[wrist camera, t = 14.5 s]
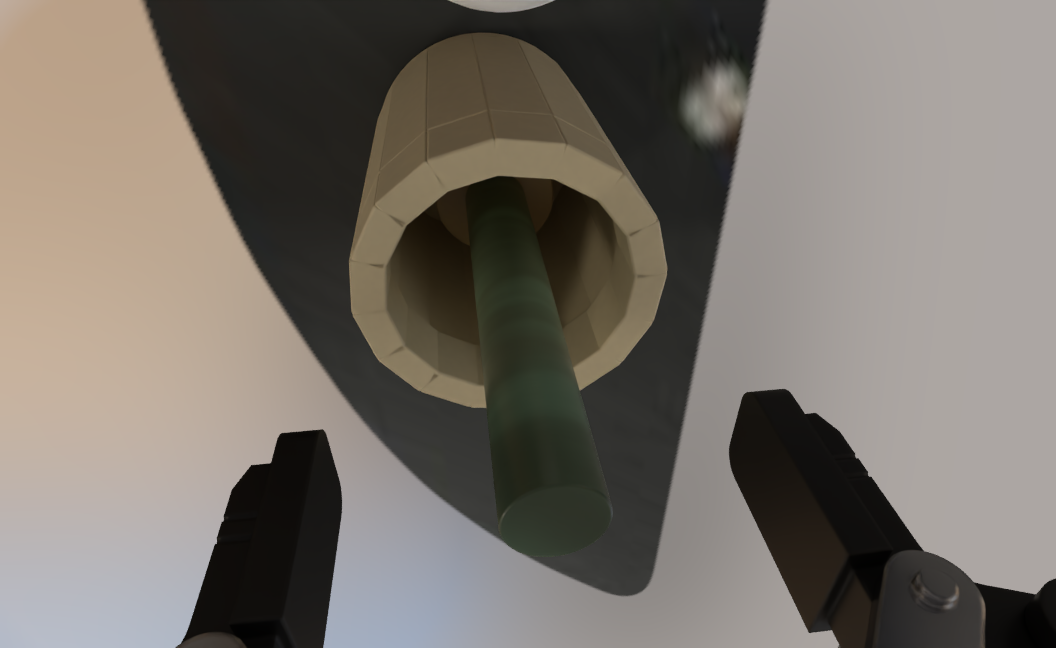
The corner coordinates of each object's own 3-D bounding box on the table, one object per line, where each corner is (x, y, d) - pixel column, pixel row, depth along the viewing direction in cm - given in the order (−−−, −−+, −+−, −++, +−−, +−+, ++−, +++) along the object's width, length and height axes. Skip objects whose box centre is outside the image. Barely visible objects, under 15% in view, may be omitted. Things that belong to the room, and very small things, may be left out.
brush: (462, 78, 23) (509, 413, 9) (554, 127, 25) (716, 479, 11) (418, 171, 25) (401, 567, 11) (506, 211, 27) (590, 604, 13)
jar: (431, -14, 22) (432, 73, 13) (623, 97, 25) (728, 227, 16) (347, 186, 26) (304, 356, 17) (523, 260, 29) (564, 438, 20)
